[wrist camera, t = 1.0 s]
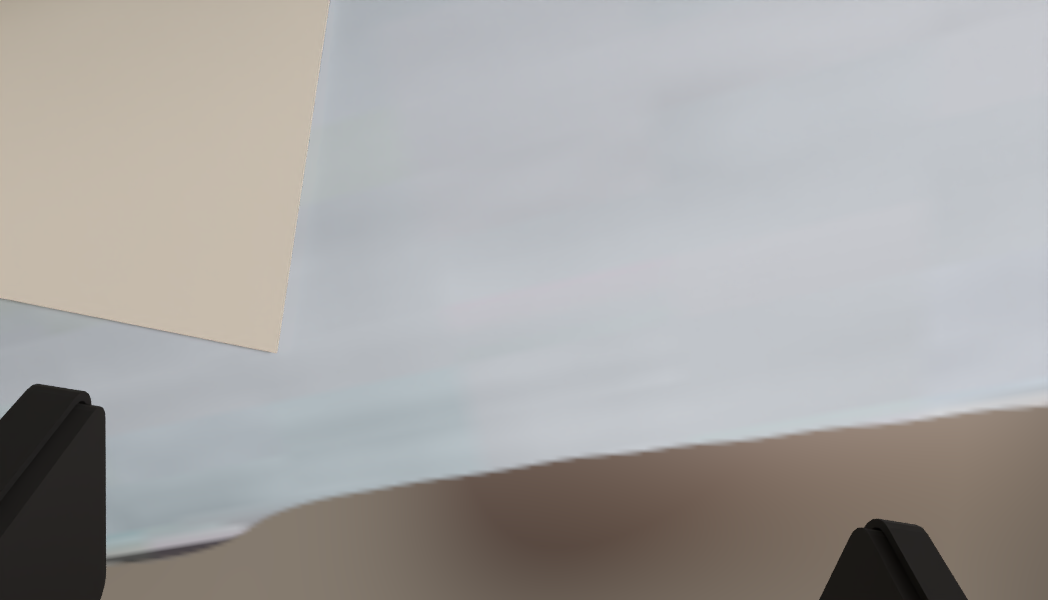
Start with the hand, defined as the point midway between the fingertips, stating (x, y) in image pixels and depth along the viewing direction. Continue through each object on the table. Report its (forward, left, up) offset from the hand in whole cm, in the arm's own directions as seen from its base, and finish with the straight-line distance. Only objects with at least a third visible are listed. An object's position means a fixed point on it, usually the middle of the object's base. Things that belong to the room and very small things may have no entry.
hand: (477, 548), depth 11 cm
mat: (+7, -20, -30) cm, 37 cm away
